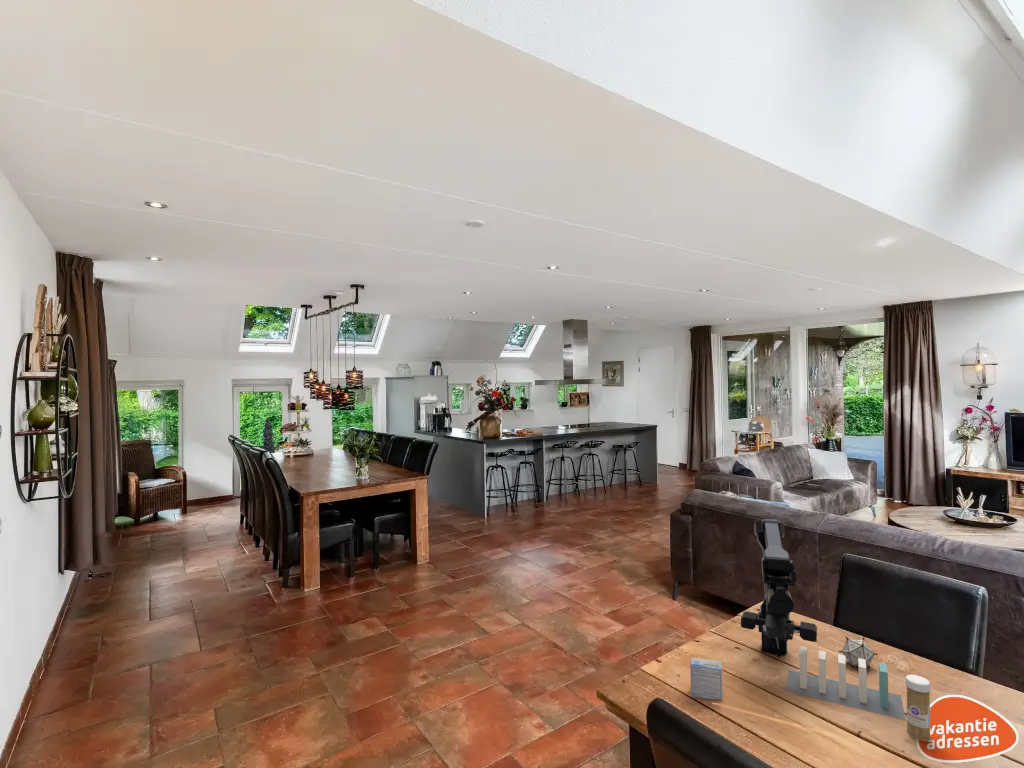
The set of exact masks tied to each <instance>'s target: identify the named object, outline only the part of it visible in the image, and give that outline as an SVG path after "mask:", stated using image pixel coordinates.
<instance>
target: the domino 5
mask: <svg viewBox="0 0 1024 768" xmlns="http://www.w3.org/2000/svg"><path fill="white" fill-rule="evenodd" d="M878 678H879V679H878V684H879V687H878V688H879V689H878V690H879V695H880V704H881V707H883V708H887V709H889V702H888V693H889V671H888V666H887V663H885V662H878Z"/></svg>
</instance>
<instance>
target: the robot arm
mask: <svg viewBox="0 0 1024 768" xmlns="http://www.w3.org/2000/svg"><path fill="white" fill-rule="evenodd" d="M753 527H754V536H756V540H757V543H758V545H759V546H760V548H761V549H762V557H761V572H762V573H761V574H762V575H761V576H762V582H763V586H764V599H763V601H762V602H761V604H760V607H759V611H758V612H757V613H756V612H751V611H747V610H745V611H743V613H742V615H741V617H740V627H741V628H742V629H747V630H752V631H753V630H754V629H756V628H757V629H758V633H761V634H760V635H761V649H760V652H762V653H765V654H769V655H774V656H776V657H777V658H781V657H785V655H787V653H788V641H792V640H793V639H794V635H795V633H797V634H799V637H800V638H801V639H802V640H803V641H808V642H812V643H817V640H818V626H817V625H816V624H815V623H812V622H808V621H807V622H806V621H800V625H798V624H795V622H794V620H791V619H790V618H791V617H790V614H791V613H792V612H793V610H794V606H795V605H794V604H795V603H794V600H793V598H792V595H791V593H790V587H795V586H796V584H795V583H796V582H797V575H796V574H797V573H796V565H795V564H794V561H793V560H791V558H790V555H789V552H788V551H787V550H785V549H784V548H783V543H782V542H783V538H784V537H785V524H784V523H783V522H781V521H780V520H778V519H771V518H769V519H768V518H763V519H761V520H758V521H755V522H754V526H753ZM756 626H757V627H756Z"/></svg>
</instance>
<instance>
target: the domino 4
mask: <svg viewBox="0 0 1024 768" xmlns="http://www.w3.org/2000/svg"><path fill="white" fill-rule="evenodd" d="M857 667H858V671H857V672H858V686H859V700H860V702H862V703H866V704H867V688H868V686H867V685H868V684H867V682H868V681H867V667H866V660H865V659H860V658H858V666H857Z"/></svg>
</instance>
